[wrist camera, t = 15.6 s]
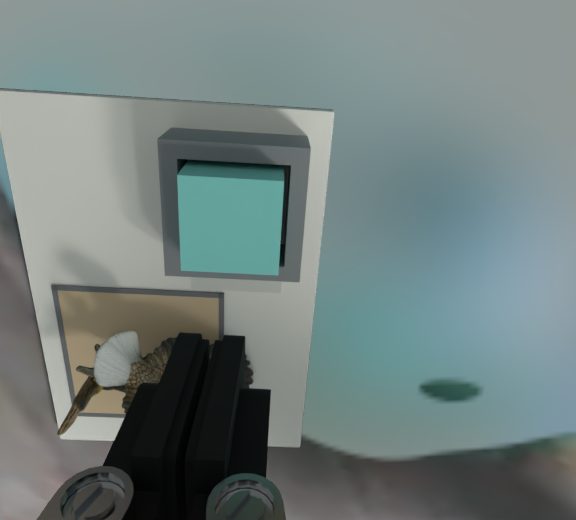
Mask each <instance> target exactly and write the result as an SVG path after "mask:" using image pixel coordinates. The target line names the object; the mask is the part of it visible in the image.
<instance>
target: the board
mask: <svg viewBox="0 0 576 520" xmlns="http://www.w3.org/2000/svg"><path fill="white" fill-rule="evenodd" d="M333 122H334V110H331V109H316V108H299V107H284V106H269V105H254V104H238V103H223V102H206V101H192V100H176V99H159V98H145V97H129V96H113V95H97V94H83V93H67V92H52V91H36V90H20V89H5V88H0V135H1V140H2V145H3V150H4V155H5V160H6V165H7V170H8V175H9V180H10V186H11V191H12V196H13V201H14V206H15V211H16V216H17V221H18V226H19V231H20V236H21V241H22V246H23V251H24V256H25V261H26V266H27V271H28V276H29V282H30V287H31V292H32V297H33V302H34V307H35V312H36V317H37V322H38V327H39V332H40V337H41V342H42V347H43V352H44V357H45V362H46V367H47V372H48V377H49V383H50V388H51V393H52V398H53V403H54V408H55V413H56V418H57V423H58V428H60V426H61V424H62V423H63V421H64V419H65V418H66V416H67V414H68V412H69V410H70V408H71V406H72V404H73V401H74V398H75V397H76V396H77V394H78V392H79V390H80V389H81V387H82V385H83V384H84V382H85V381H86V379H87V378H88V376H87V375H85V374H83V373H80V372H78V371H76V368H77V367H78V366H79V365H80V366H84V367H89V368H93V367H94V360H95V354H96V351H95V348H94V346H95V344H99V345H100V346H101V344H102V343H104V342H105V341H106V340H108V338H109V337H110V336H111V335H113V334H117V333H122V332H125V331H135V332H136V333H137V336H138V342H139V346H140V351H141V355H142V357H145V356H146V355H147V354H148V353H153V352H154V349H155V348H156V347H159V346H160V345H161V342H162V341H164V340H167V338H169V337H172V338H176V337H177V336H178V334H179V333H180V332H184V333H201V334H202V339H207V340H209V342H210V345H211V344H214V342H215V340H223V337H224V335H237V336H245V354H246V355H247V358H246V360H249V361H250V365H249V366H247V367H249V368H251V369H252V371H253V373H254V374H253V375H252V376H251V378H252V379H253V383H252V384H250V385H249V388H255V389H271V398H270V415H269V432H268V446H273V447H300V444H301V435H302V424H303V415H304V405H305V396H306V385H307V376H308V366H309V357H310V347H311V336H312V327H313V318H314V308H315V298H316V288H317V278H318V268H319V258H320V249H321V239H322V230H323V220H324V210H325V200H326V190H327V181H328V171H329V161H330V152H331V142H332V132H333ZM189 159H190V160H207V161H224V162H241V163H258V164H274V165H284V194H283V210H282V226H281V242H280V259H279V275H278V276H277V275H257V274H237V273H217V272H197V271H181V261H180V236H179V211H178V185H177V175H178V173H179V172H180V171H181V169H182V168H183V166H184V165H185V164H186V162H187V161H188V160H189ZM125 395H126V393H124V392H120V391H117V390H101V391H100V392H99V393H98V394H96V395H95V396H93V397H91V399H90V401H89V403H88V405H87V406H86V408H85V409H84V410H83V411H81V412H80V413H79V414H78V416H77V418H76V420H75V422H74V423H73V424H72V426H71V427H70V428H69V429H68V430H67V431H66V432H65V433H64V434H62V435H60V438H61V439H72V440H100V441H114V440H115V438H116V436H117V433H118V431H119V429H120V427H121V424H122V422H123V420H124V418H125V416H126V414H125V413H124V411H125V409H123V408H122V403H123V401H122V399H123V398H124V397H125Z"/></svg>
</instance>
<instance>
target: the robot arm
mask: <svg viewBox="0 0 576 520" xmlns="http://www.w3.org/2000/svg"><path fill="white" fill-rule="evenodd" d="M244 373H245V336H237V335H224V337H223V340H215V342H214V346H213V350H212V354H211V358H210V342H209V340H207V339H202V334H201V333H184V332H180V333H179V334H178V336H177V339H176V341H175V344H174V346H173V349H172V351H171V354H170V356H169V359H168V361H167V364H166V367H165V369H164V372H163V374H162V377H161V379H160V382H159V383H144V382H143V383H141V384H140V386H139V387H138V389H137V391H136V394H135V396H134V398H133V400H132V402H131V405H130V407H129V409H128V411H127V413H126V416H125V418H124V420H123V422H122V424H121V427H120V429H119V431H118V433H117V436H116V438H115V440H114V442H113V444H112V447H111V449H110V451H109V453H108V455H107V458H106V460H105V462H104V464H103V466H98V467H93V468H89V469H86V470H84V471H81V472H79V473H77V474H75V475H74V476H72V477H71V478H70V479H68V480H67V481H66V482H65V483H64V484H63V485H62V486H61V487H60V488H59V489H58V490H57V492H56V493H55V494H54V496H53V497H52V499H51V500H50V501H49V503H48V504H47V506H46V507H45V508H44V510H43V511H42V513H41V514H40V516H39V517H38V518H37V520H286V518H285V511H284V505H283V500H282V497H281V494H280V491H279V490H278V489H277V487H276V486H275V485H274V484H273V483H272V482H271V481H269V480H268V479H266V466H267V449H268V432H269V415H270V398H271V389H255V388H244Z"/></svg>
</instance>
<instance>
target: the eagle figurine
mask: <svg viewBox="0 0 576 520" xmlns="http://www.w3.org/2000/svg"><path fill="white" fill-rule="evenodd" d="M176 339H177V337H176V338H172V337H169V338H167V340H164V341H162V342H161V345H160V346H159V347H156V348H155V349H154V352H153V353H148V354H147V355H146V356H145V357H142V355H141V351H140V346H139V342H138V336H137V333H136V332H135V331H125V332H122V333H117V334H113V335H111V336H110V337H109V338H108V340H106V341H105V342H104V343H102V344H101V346H100V345H99V344H95V346H94V348H95V351H96V354H95V360H94V367H93V368H89V367H84V366H80V365H79V366H78V367H77V368H76V371H78V372H80V373H83V374H85V375H87V376H88V378H87V379H86V381H85V382H84V384H83V385H82V387H81V389H80V390H79V392H78V394H77V396H76V397H75V398H74V401H73V404H72V406H71V408H70V410H69V412H68V414H67V416H66V418H65V419H64V421H63V423H62V424H61V426H60V428H59V430H58V433H57V434H58V435H62V434H64V433H65V432H66V431H67V430H68V429H69V428H70V427H71V426H72V424H73V423H74V422H75V420H76V418H77V416H78V414H79V413H80V412H81V411H83V410H84V409H85V408H86V406H87V405H88V403H89V401H90V399H91V397H93V396H95V395H96V394H98V393H99V392H100V391H101V390H117V391H120V392H124V393H126V395H125V397H124V398H123V399H122V401H123V403H122V408H123V409H125V411H124V413H125V414H126V413H127V411H128V409H129V407H130V405H131V402H132V400H133V398H134V396H135V394H136V391H137V389H138V387H139V386H140V384H141V383H143V382H144V383H159V382H160V379H161V377H162V374H163V372H164V369H165V367H166V364H167V361H168V359H169V356H170V354H171V351H172V349H173V346H174V344H175V341H176ZM213 346H214V344H211V345H210V358H211V354H212V350H213ZM246 358H247V355H246V354H245V373H244V388H249V385H250V384H252V383H253V379H252V378H251V376H252V375H253V374H254V373H253V371H252V369H251V368H249V367H247V366H249V365H250V361H249V360H246Z"/></svg>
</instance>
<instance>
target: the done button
mask: <svg viewBox="0 0 576 520" xmlns="http://www.w3.org/2000/svg"><path fill="white" fill-rule="evenodd" d="M177 185H178V211H179V236H180V261H181V271H197V272H217V273H237V274H257V275H277V276H278V275H279V259H280V242H281V226H282V210H283V194H284V165H274V164H258V163H241V162H224V161H207V160H190V159H189V160H188V161H187V162H186V164H185V165H184V166H183V168H182V169H181V171H180V172H179V173H178V175H177Z"/></svg>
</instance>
